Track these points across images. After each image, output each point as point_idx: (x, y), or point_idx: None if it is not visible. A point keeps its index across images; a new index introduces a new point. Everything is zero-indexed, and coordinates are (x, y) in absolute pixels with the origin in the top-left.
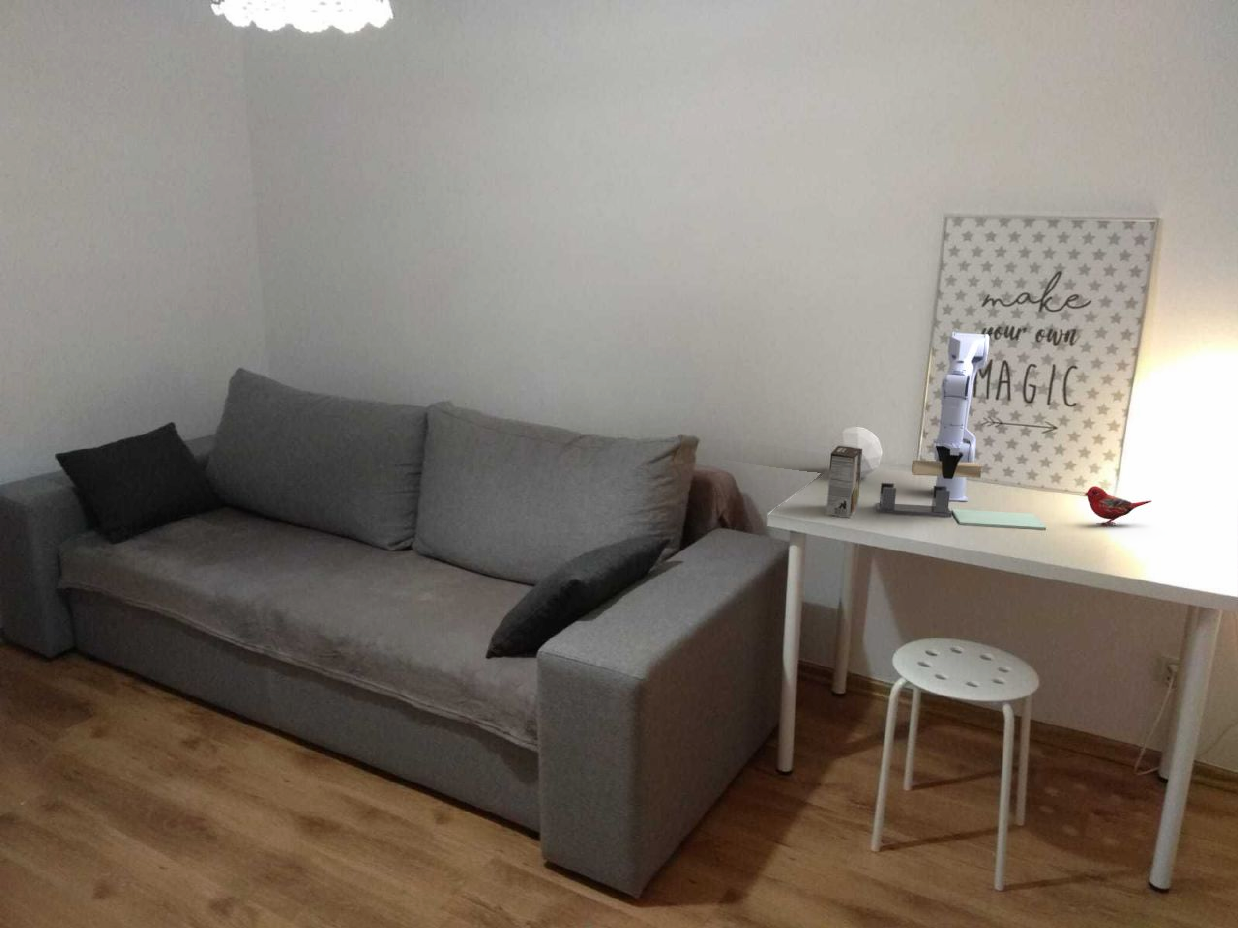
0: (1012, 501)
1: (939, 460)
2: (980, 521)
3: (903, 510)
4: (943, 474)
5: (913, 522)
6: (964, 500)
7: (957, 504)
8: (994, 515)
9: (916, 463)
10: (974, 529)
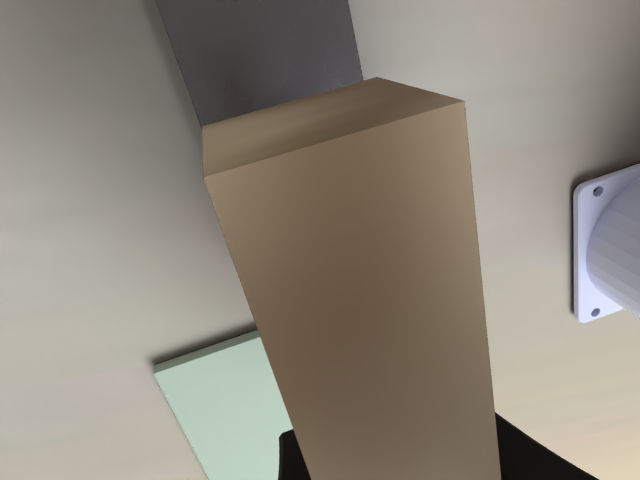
0: (616, 446)
1: (559, 463)
2: (228, 440)
3: (172, 23)
4: (279, 467)
5: (10, 125)
6: (575, 308)
7: (521, 285)
8: None
9: (219, 217)
10: (110, 433)
